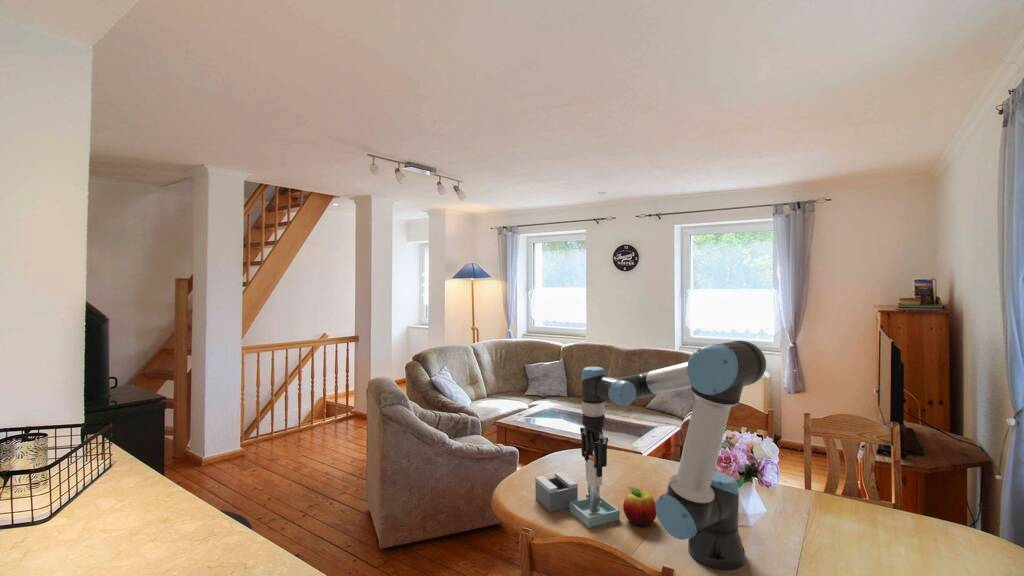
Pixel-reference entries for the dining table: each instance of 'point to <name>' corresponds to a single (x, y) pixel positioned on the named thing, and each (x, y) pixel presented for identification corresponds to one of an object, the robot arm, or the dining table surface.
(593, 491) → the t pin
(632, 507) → the fruit
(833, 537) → the dining table surface
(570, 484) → the block
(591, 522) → the tray
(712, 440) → the robot arm
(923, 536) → the dining table surface
